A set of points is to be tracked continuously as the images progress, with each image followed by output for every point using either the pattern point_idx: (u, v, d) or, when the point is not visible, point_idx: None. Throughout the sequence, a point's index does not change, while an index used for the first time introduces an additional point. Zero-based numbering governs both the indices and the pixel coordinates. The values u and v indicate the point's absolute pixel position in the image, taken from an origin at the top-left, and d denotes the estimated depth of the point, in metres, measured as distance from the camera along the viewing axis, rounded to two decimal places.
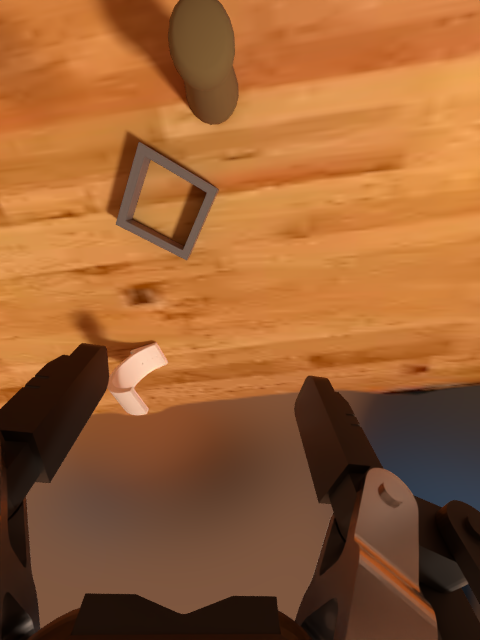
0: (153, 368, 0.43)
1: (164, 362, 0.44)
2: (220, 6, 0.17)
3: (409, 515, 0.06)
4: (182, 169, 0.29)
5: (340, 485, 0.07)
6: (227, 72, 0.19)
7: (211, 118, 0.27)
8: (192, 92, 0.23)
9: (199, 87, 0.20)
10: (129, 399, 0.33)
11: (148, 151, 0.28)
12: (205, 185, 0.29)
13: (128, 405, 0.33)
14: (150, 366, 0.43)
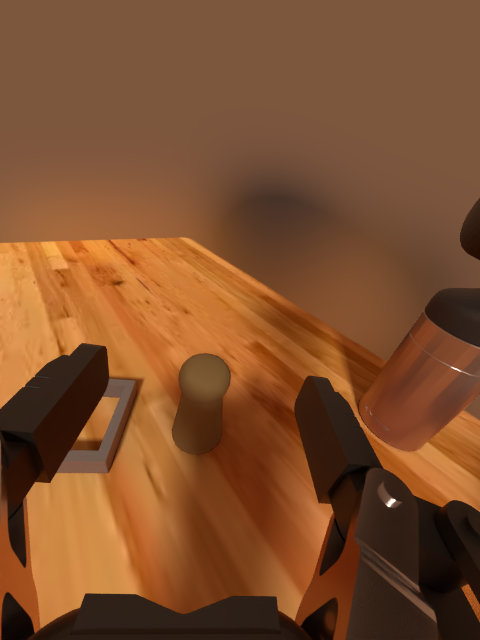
0: None
1: None
2: (227, 375, 0.23)
3: (409, 515, 0.06)
4: (120, 417, 0.26)
5: (340, 485, 0.07)
6: (198, 395, 0.22)
7: (175, 431, 0.27)
8: None
9: (179, 380, 0.23)
10: None
11: (129, 387, 0.30)
12: (107, 445, 0.24)
13: None
14: None
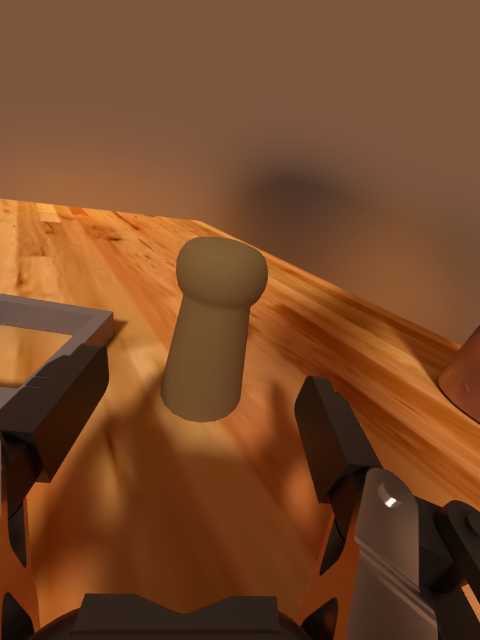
0: None
1: None
2: (264, 262, 0.13)
3: (409, 515, 0.06)
4: None
5: (340, 485, 0.07)
6: (211, 280, 0.11)
7: (166, 380, 0.16)
8: None
9: (177, 264, 0.13)
10: None
11: (101, 317, 0.19)
12: None
13: None
14: None
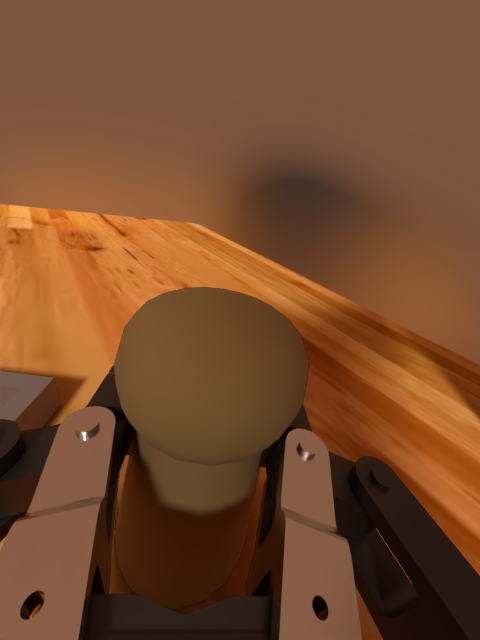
0: None
1: None
2: (304, 352, 0.06)
3: (318, 465, 0.06)
4: None
5: (271, 447, 0.07)
6: (184, 430, 0.05)
7: (119, 526, 0.09)
8: None
9: (115, 362, 0.06)
10: None
11: (30, 393, 0.12)
12: None
13: None
14: None
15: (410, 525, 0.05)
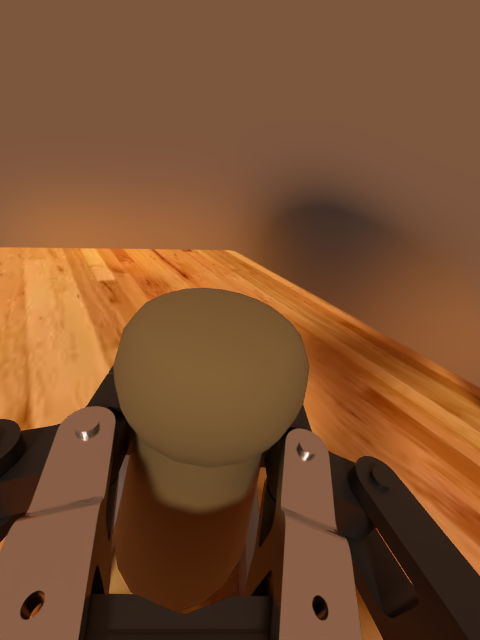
0: None
1: None
2: (304, 353, 0.06)
3: (318, 466, 0.06)
4: None
5: (271, 447, 0.07)
6: (183, 432, 0.04)
7: (118, 528, 0.09)
8: None
9: (114, 364, 0.06)
10: None
11: None
12: None
13: None
14: None
15: (410, 525, 0.05)
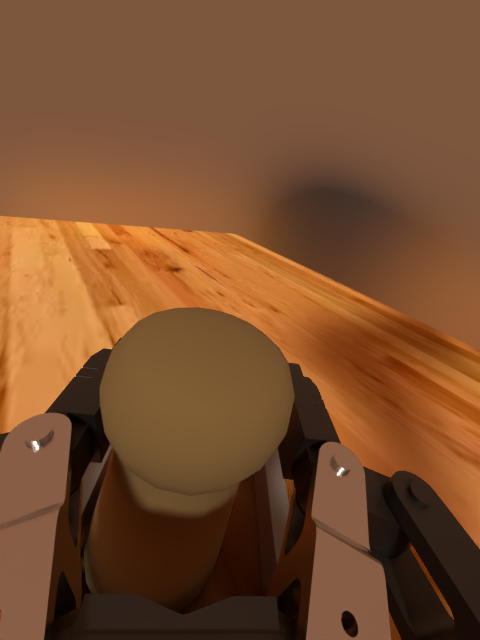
0: None
1: None
2: (290, 384, 0.06)
3: (355, 482, 0.06)
4: None
5: (300, 460, 0.07)
6: (167, 463, 0.05)
7: (90, 541, 0.09)
8: None
9: (101, 384, 0.06)
10: None
11: None
12: None
13: None
14: None
15: (450, 546, 0.05)
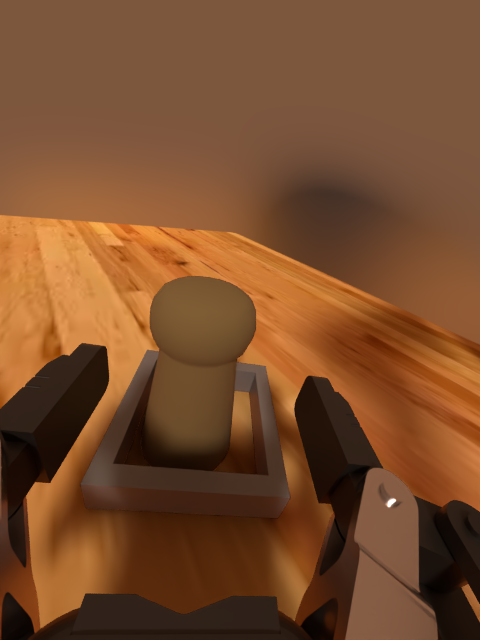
0: None
1: None
2: (251, 310, 0.11)
3: (409, 515, 0.06)
4: (273, 419, 0.16)
5: (340, 485, 0.07)
6: (187, 341, 0.10)
7: (145, 432, 0.14)
8: None
9: (150, 315, 0.11)
10: None
11: (263, 375, 0.20)
12: (278, 466, 0.13)
13: None
14: None
15: None
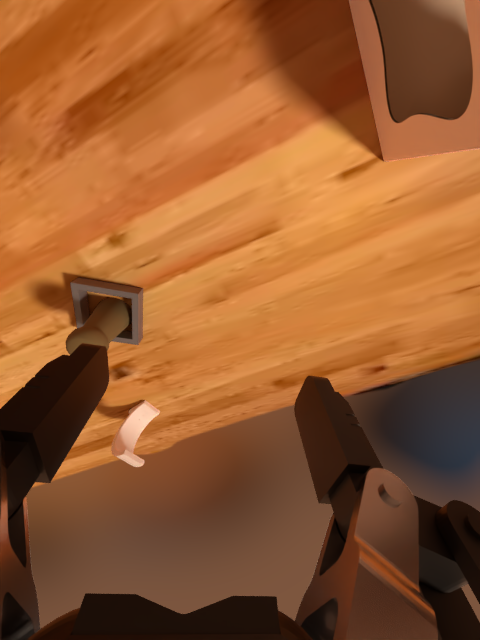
0: (149, 420, 0.54)
1: (156, 413, 0.54)
2: (86, 337, 0.32)
3: (409, 515, 0.06)
4: (107, 289, 0.37)
5: (340, 485, 0.07)
6: None
7: None
8: None
9: None
10: (126, 458, 0.43)
11: (79, 286, 0.37)
12: (128, 294, 0.38)
13: (127, 462, 0.44)
14: (146, 419, 0.53)
15: None
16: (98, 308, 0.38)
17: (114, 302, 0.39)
